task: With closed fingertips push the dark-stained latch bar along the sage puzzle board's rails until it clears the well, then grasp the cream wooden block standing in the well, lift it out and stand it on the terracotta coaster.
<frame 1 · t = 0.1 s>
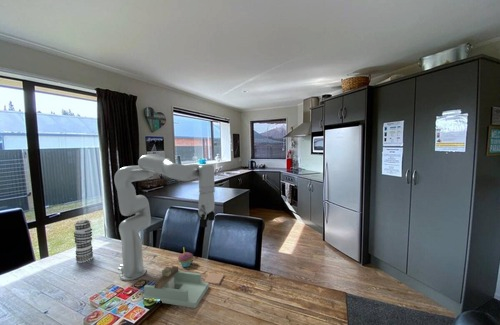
hand: (207, 223, 104), 31 cm above the table, fingers open, 9 cm apart
cream block: (167, 291, 99), resting on puzzle board
latch bar: (167, 273, 99), point 9 cm above the table, slide at 0.0 cm
cupcake: (185, 265, 124), on the table
puzzle board: (177, 293, 98), on the table
stacked grey column: (84, 259, 132), on the table
terracotta coaster: (214, 279, 109), on the table
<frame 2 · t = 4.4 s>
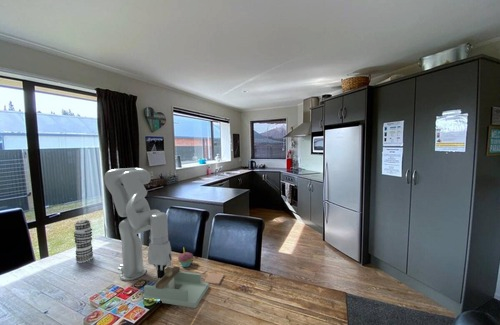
hand: (161, 276, 100), 8 cm above the table, fingers closed
latch bar: (168, 273, 99), point 9 cm above the table, slide at 0.8 cm, touching gripper
everything else where it was.
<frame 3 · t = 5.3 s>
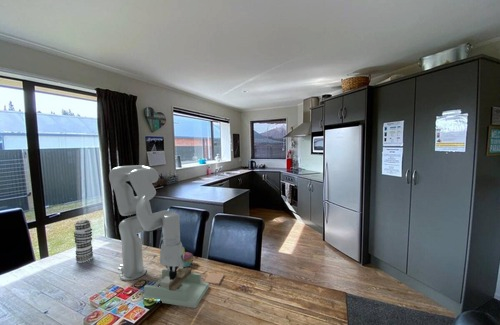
hand: (173, 278, 98), 8 cm above the table, fingers closed
latch bar: (180, 275, 98), point 9 cm above the table, slide at 7.1 cm, touching gripper
everything else where it was.
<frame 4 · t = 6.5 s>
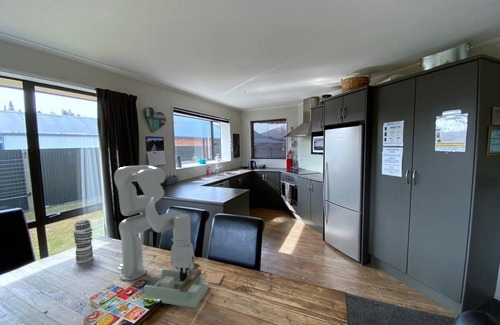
hand: (183, 279, 97), 7 cm above the table, fingers closed
latch bar: (191, 276, 96), point 9 cm above the table, slide at 12.5 cm, touching gripper
everything else where it was.
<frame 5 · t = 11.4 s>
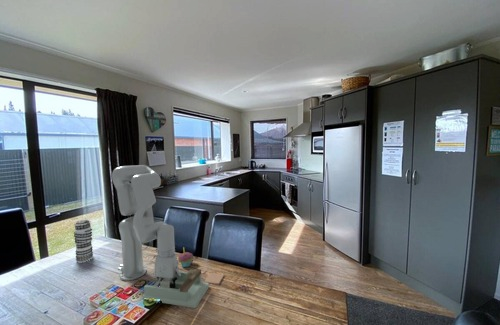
hand: (167, 288, 99), 2 cm above the table, fingers closed on cream block, 4 cm apart
cream block: (167, 291, 99), resting on puzzle board, touching gripper
latch bar: (191, 276, 96), point 9 cm above the table, slide at 12.5 cm
everything else where it was.
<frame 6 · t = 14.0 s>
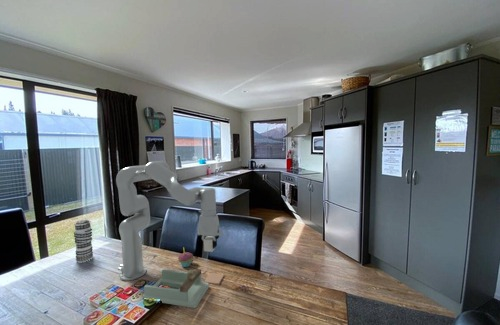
hand: (209, 246, 107), 18 cm above the table, fingers closed on cream block, 4 cm apart
cream block: (209, 249, 107), point 17 cm above the table, touching gripper
everything else where it was.
when the fingers open (4 cm above the table, at t = 16.7 s): cream block drops 1 cm, resting on terracotta coaster.
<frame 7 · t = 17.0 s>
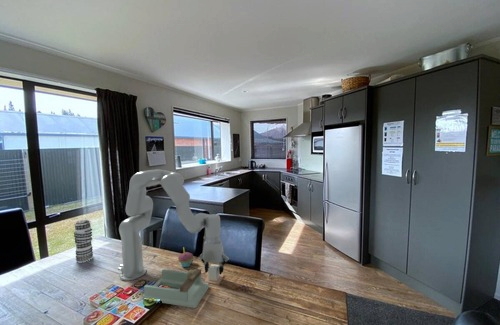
hand: (214, 271, 109), 4 cm above the table, fingers open, 7 cm apart
cream block: (214, 277, 109), point 1 cm above the table, touching terracotta coaster
everything else where it was.
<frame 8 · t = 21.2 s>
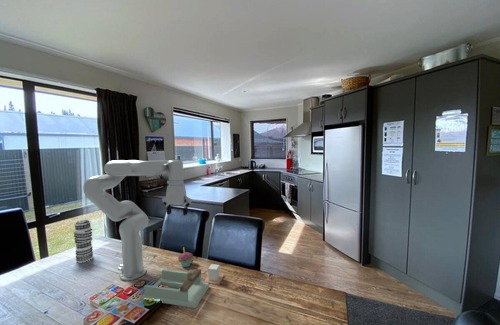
hand: (177, 214, 113), 33 cm above the table, fingers open, 9 cm apart
nothing on the table moved.
at the end: latch bar slide at 12.5 cm; cream block inside the target area on the terracotta coaster (0.1 cm from its centre), point 0.8 cm above the terracotta coaster's base; cream block tilted 0° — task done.
